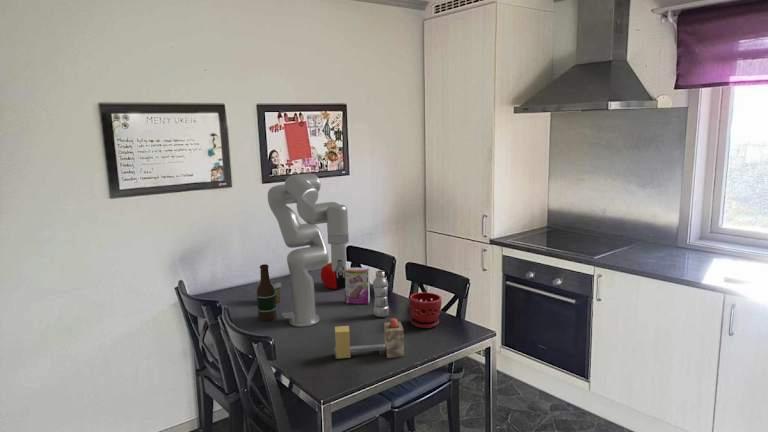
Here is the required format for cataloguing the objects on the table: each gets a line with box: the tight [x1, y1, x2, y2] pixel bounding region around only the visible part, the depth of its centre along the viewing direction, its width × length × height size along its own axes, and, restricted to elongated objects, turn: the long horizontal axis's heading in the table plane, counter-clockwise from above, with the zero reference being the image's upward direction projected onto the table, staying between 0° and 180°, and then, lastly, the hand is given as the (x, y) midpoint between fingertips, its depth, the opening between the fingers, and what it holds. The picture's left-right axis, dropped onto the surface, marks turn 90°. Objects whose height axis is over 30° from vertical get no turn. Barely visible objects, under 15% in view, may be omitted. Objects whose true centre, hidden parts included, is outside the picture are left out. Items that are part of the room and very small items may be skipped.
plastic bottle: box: [372, 269, 390, 318], centre depth 217 cm, size 6×7×20 cm
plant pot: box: [408, 291, 443, 329], centre depth 208 cm, size 13×13×12 cm
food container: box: [256, 279, 282, 305], centre depth 237 cm, size 12×6×10 cm, turn 68°
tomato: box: [320, 262, 345, 290], centre depth 258 cm, size 16×14×14 cm
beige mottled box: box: [383, 321, 405, 359], centre depth 182 cm, size 6×8×10 cm
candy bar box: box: [344, 267, 371, 305], centre depth 235 cm, size 11×5×16 cm, turn 84°
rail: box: [334, 343, 386, 359], centre depth 182 cm, size 19×2×3 cm, turn 97°
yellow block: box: [334, 325, 351, 360], centre depth 180 cm, size 5×5×10 cm
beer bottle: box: [256, 263, 277, 323], centre depth 217 cm, size 8×8×24 cm
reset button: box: [389, 317, 398, 328], centre depth 182 cm, size 3×3×4 cm
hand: (340, 284), depth 186 cm, fingers open, 9 cm apart
